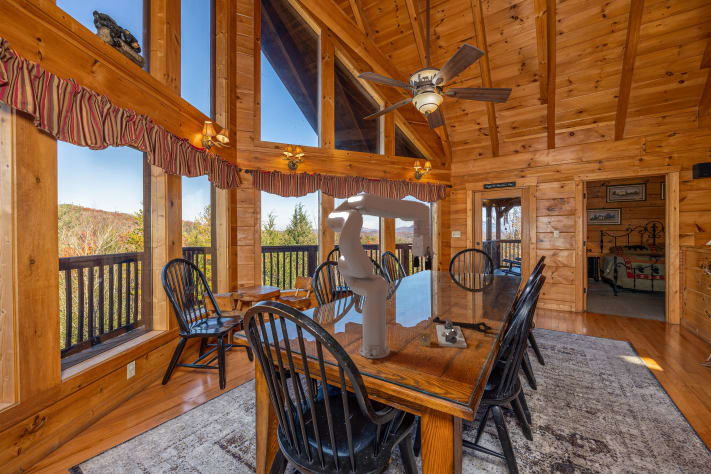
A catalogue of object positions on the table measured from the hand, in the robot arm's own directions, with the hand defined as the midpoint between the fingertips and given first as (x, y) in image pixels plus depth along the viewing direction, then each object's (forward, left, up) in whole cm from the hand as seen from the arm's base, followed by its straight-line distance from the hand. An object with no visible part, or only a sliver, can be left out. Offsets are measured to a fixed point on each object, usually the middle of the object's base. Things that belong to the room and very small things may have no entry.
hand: (422, 268), depth 135 cm
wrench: (+16, -19, -32) cm, 41 cm away
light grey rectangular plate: (0, -12, -32) cm, 34 cm away
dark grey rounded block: (-9, -12, -30) cm, 34 cm away
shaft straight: (+8, -12, -30) cm, 34 cm away
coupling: (-11, -1, -32) cm, 33 cm away
